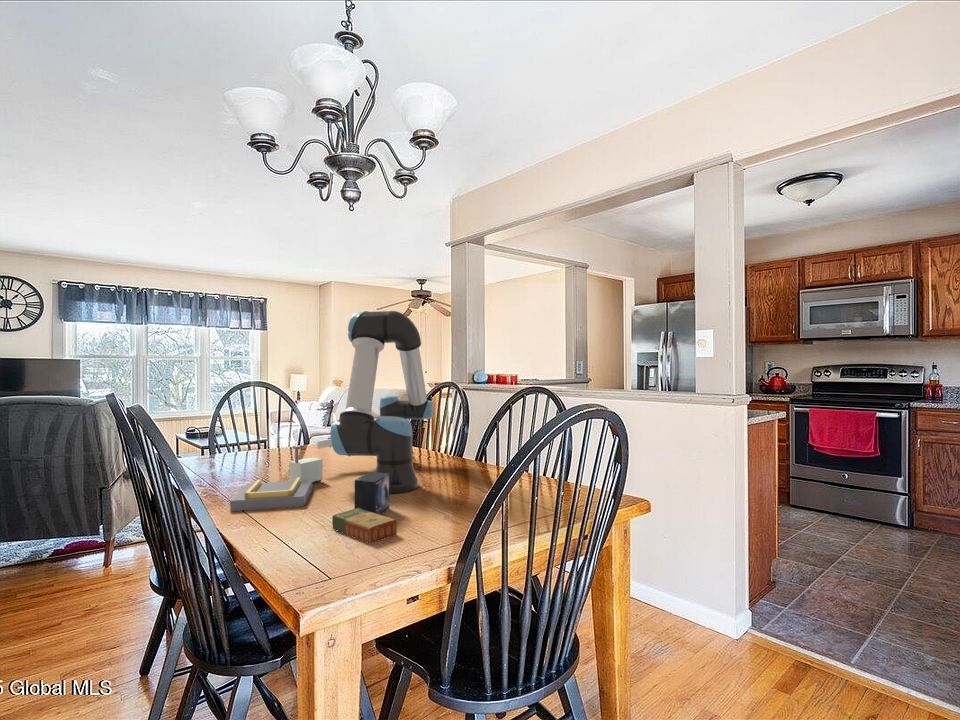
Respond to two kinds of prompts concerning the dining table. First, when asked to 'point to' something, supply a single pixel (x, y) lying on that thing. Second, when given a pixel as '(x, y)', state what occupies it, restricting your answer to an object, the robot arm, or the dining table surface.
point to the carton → (364, 525)
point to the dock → (272, 495)
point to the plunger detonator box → (306, 468)
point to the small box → (372, 492)
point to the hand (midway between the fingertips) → (329, 446)
